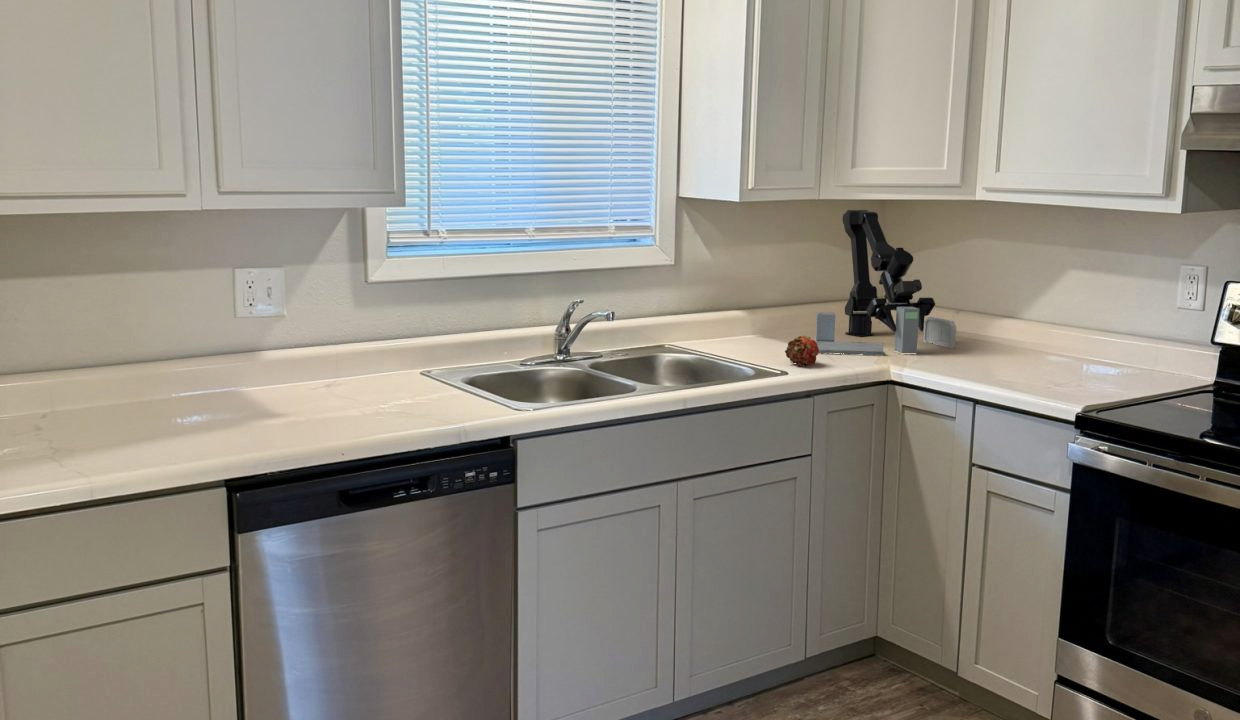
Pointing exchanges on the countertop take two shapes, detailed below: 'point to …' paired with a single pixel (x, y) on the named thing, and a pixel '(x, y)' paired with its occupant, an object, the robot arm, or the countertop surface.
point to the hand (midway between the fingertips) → (908, 330)
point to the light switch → (939, 332)
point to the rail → (827, 344)
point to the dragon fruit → (802, 350)
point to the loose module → (906, 329)
